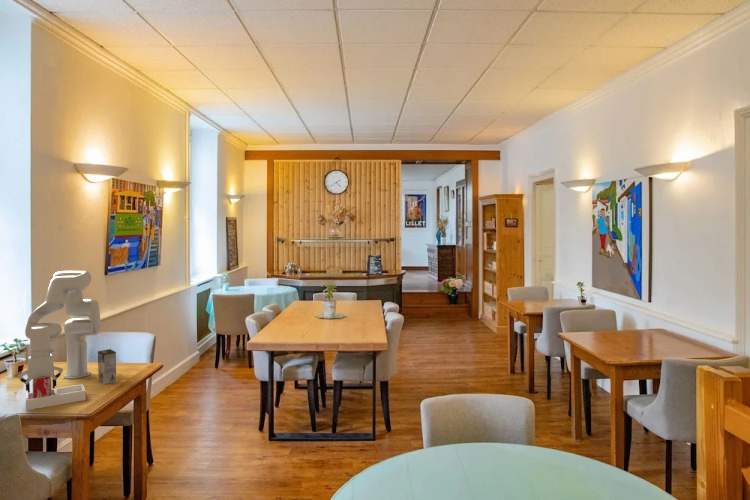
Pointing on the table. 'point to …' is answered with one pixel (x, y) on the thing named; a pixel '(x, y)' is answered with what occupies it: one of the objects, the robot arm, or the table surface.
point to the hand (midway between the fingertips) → (41, 389)
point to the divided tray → (57, 397)
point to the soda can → (41, 387)
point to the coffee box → (107, 366)
